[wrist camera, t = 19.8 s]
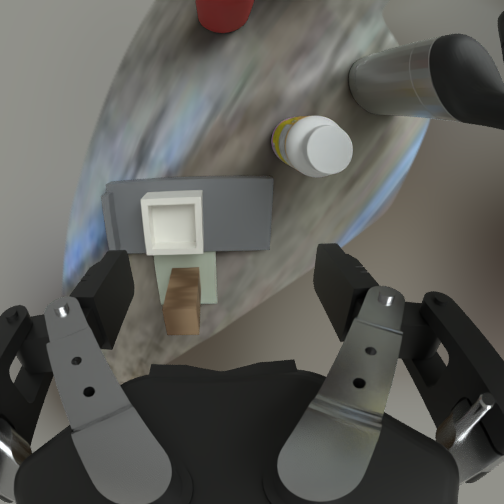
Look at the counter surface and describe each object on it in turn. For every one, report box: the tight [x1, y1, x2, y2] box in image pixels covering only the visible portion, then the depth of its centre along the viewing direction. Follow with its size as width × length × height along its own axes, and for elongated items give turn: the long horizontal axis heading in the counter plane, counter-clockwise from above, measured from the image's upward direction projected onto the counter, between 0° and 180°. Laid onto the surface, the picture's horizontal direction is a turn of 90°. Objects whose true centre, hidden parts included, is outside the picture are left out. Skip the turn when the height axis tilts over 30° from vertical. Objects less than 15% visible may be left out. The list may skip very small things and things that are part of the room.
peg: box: [162, 267, 201, 335], centre depth 37 cm, size 4×4×10 cm
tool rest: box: [154, 251, 217, 304], centre depth 42 cm, size 9×9×1 cm
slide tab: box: [141, 190, 204, 255], centre depth 34 cm, size 7×7×4 cm
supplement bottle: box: [271, 116, 353, 178], centre depth 30 cm, size 7×7×13 cm
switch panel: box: [101, 176, 274, 254], centre depth 36 cm, size 22×10×4 cm, turn 88°
